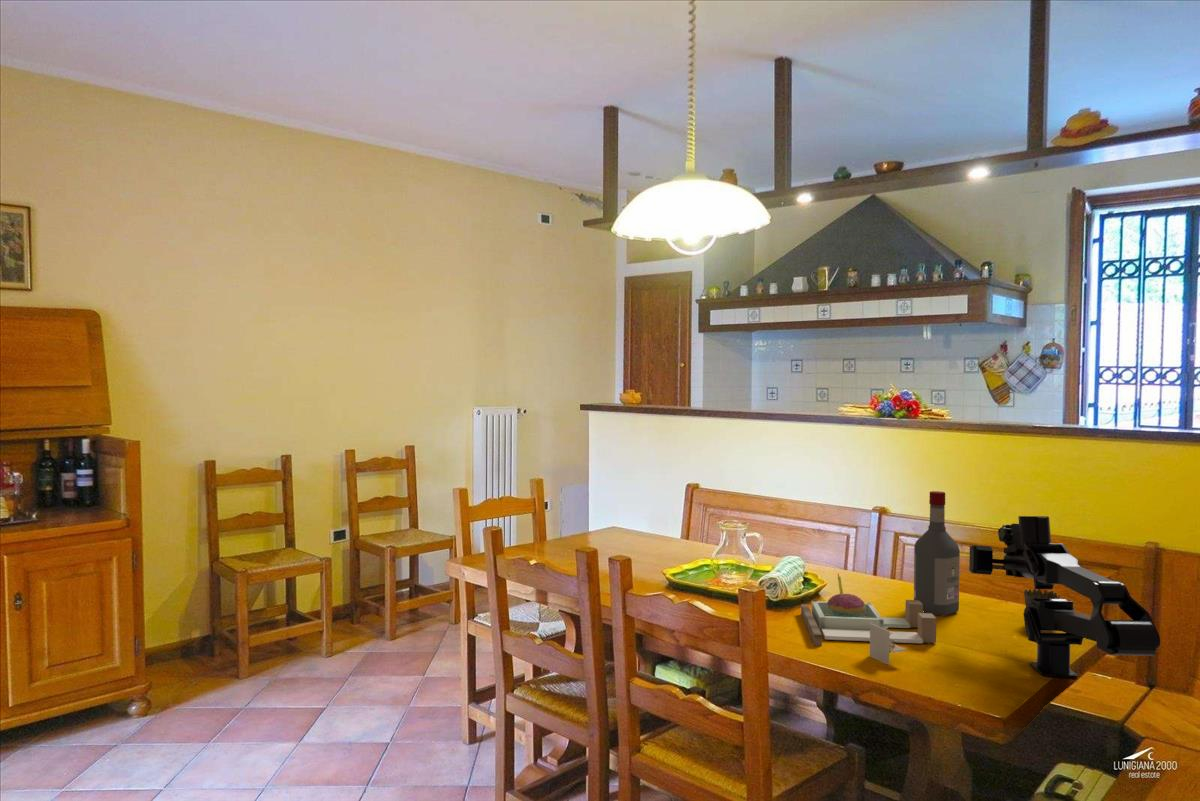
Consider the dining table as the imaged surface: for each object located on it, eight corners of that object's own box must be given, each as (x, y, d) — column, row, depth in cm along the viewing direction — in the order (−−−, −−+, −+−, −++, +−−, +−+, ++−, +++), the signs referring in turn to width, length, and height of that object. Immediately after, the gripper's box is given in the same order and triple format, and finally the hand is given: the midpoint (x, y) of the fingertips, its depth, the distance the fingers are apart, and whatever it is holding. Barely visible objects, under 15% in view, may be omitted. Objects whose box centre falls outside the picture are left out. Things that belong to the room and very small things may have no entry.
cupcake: (824, 626, 184) (824, 575, 184) (831, 616, 192) (832, 568, 192) (862, 631, 180) (862, 580, 180) (867, 621, 188) (868, 572, 188)
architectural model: (881, 655, 166) (882, 621, 166) (905, 666, 160) (906, 631, 160) (868, 658, 165) (869, 623, 165) (892, 669, 158) (893, 633, 158)
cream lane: (937, 643, 171) (937, 619, 171) (824, 639, 174) (825, 615, 174) (930, 636, 176) (930, 612, 176) (821, 632, 179) (821, 608, 179)
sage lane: (928, 634, 177) (929, 610, 177) (819, 630, 181) (819, 606, 180) (912, 616, 191) (913, 594, 191) (811, 612, 194) (811, 590, 194)
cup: (1064, 632, 180) (1065, 597, 180) (1029, 630, 181) (1030, 596, 181) (1052, 622, 187) (1053, 589, 187) (1019, 620, 189) (1019, 587, 189)
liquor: (963, 611, 196) (965, 493, 195) (941, 617, 191) (942, 496, 190) (931, 603, 203) (932, 488, 202) (908, 608, 198) (910, 491, 198)
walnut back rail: (821, 645, 171) (821, 635, 171) (814, 645, 171) (814, 634, 171) (807, 614, 194) (807, 604, 194) (800, 613, 194) (801, 604, 194)
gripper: (1075, 530, 166) (1039, 529, 181) (985, 522, 167) (957, 522, 183) (1076, 583, 164) (1039, 577, 180) (984, 575, 166) (956, 570, 181)
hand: (998, 560), depth 181 cm, fingers open, 9 cm apart
